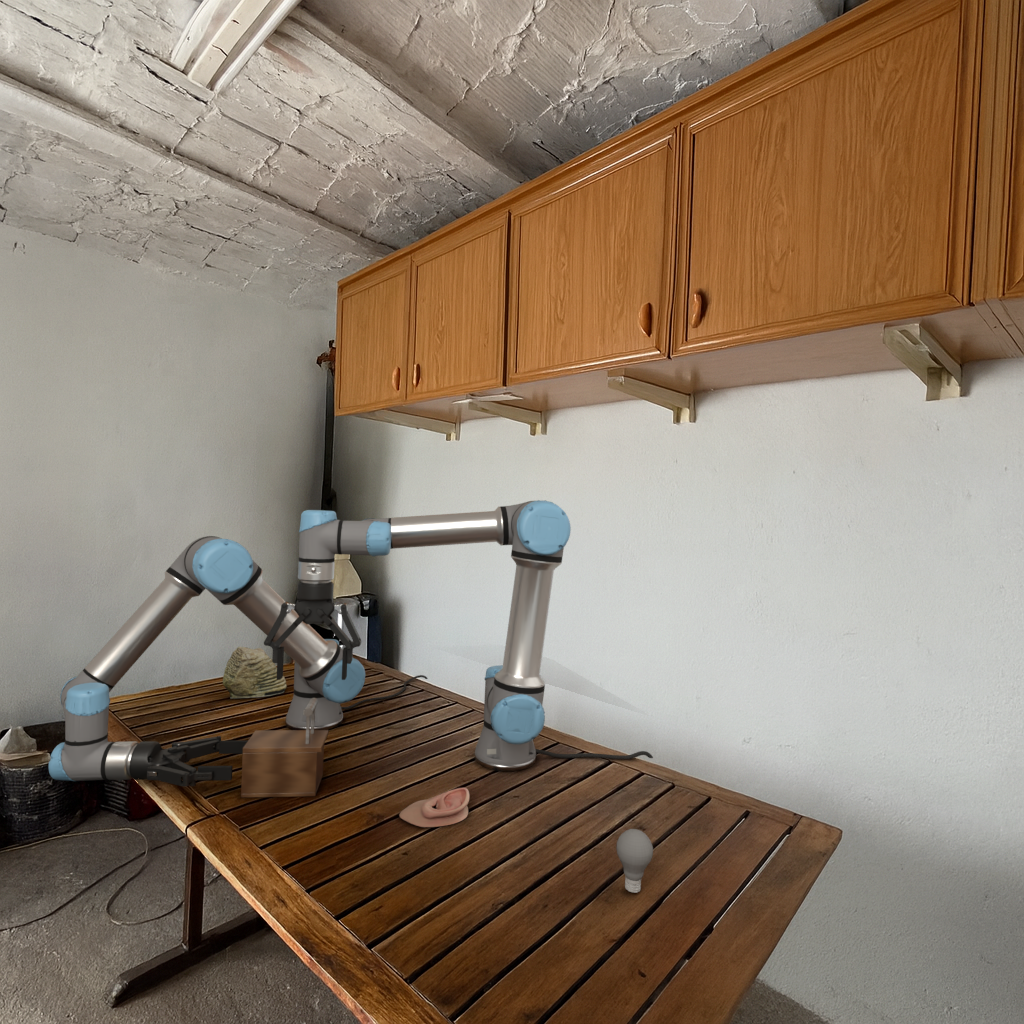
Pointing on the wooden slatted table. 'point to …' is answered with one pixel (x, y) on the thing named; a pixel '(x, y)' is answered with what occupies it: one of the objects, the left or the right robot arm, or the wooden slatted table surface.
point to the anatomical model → (438, 809)
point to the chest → (281, 774)
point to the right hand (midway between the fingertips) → (312, 678)
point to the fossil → (252, 674)
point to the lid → (289, 737)
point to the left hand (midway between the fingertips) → (241, 759)
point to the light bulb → (634, 857)
